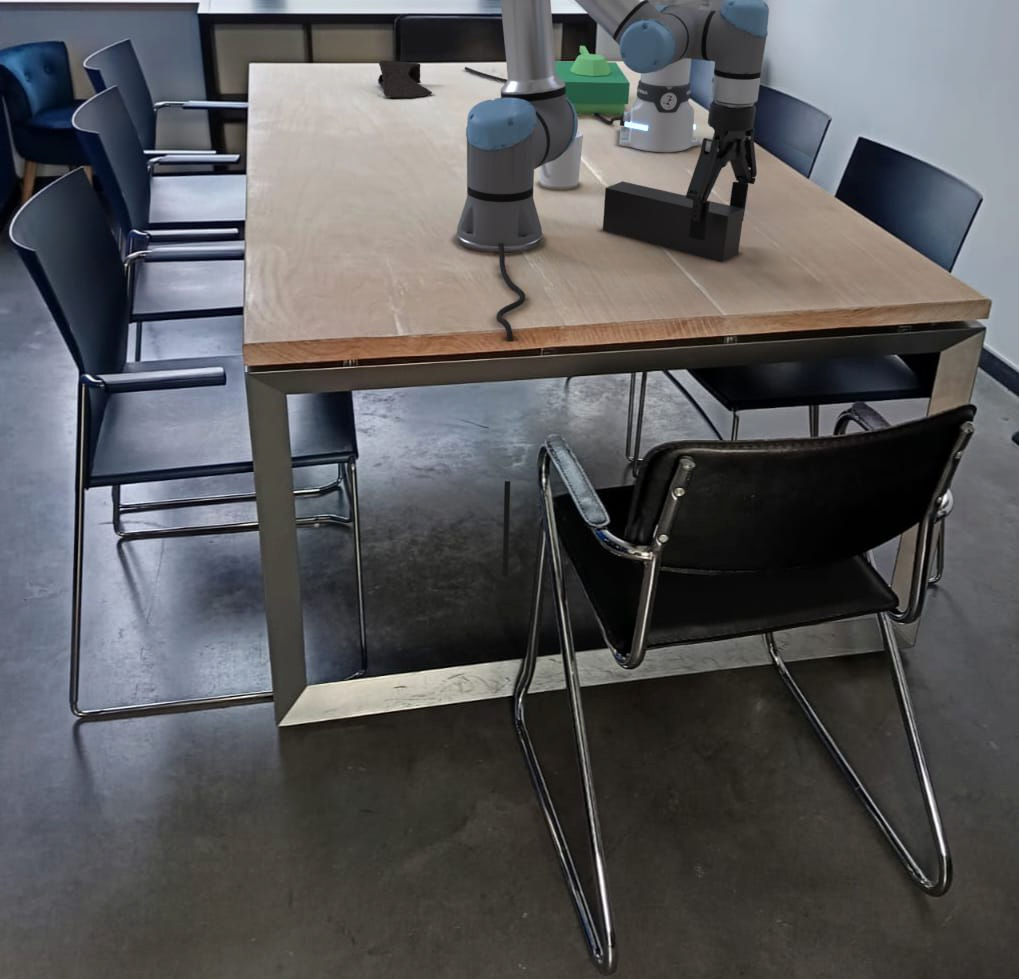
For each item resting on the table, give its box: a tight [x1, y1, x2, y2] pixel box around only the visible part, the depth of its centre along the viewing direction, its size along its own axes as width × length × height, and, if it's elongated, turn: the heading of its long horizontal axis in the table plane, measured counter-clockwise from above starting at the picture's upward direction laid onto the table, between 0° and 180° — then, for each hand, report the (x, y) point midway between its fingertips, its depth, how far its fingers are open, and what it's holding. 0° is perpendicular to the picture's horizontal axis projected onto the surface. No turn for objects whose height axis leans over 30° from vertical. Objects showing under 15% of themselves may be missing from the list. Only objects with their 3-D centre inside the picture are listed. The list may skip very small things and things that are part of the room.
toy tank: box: [555, 45, 631, 116], centre depth 289 cm, size 18×12×35 cm
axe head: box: [377, 59, 433, 99], centre depth 299 cm, size 18×8×15 cm
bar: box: [602, 180, 745, 262], centre depth 195 cm, size 25×6×8 cm, turn 52°
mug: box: [539, 129, 584, 190], centre depth 223 cm, size 11×9×10 cm
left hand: (716, 229), depth 190 cm, fingers open, 13 cm apart
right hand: (688, 27), depth 208 cm, fingers open, 8 cm apart
